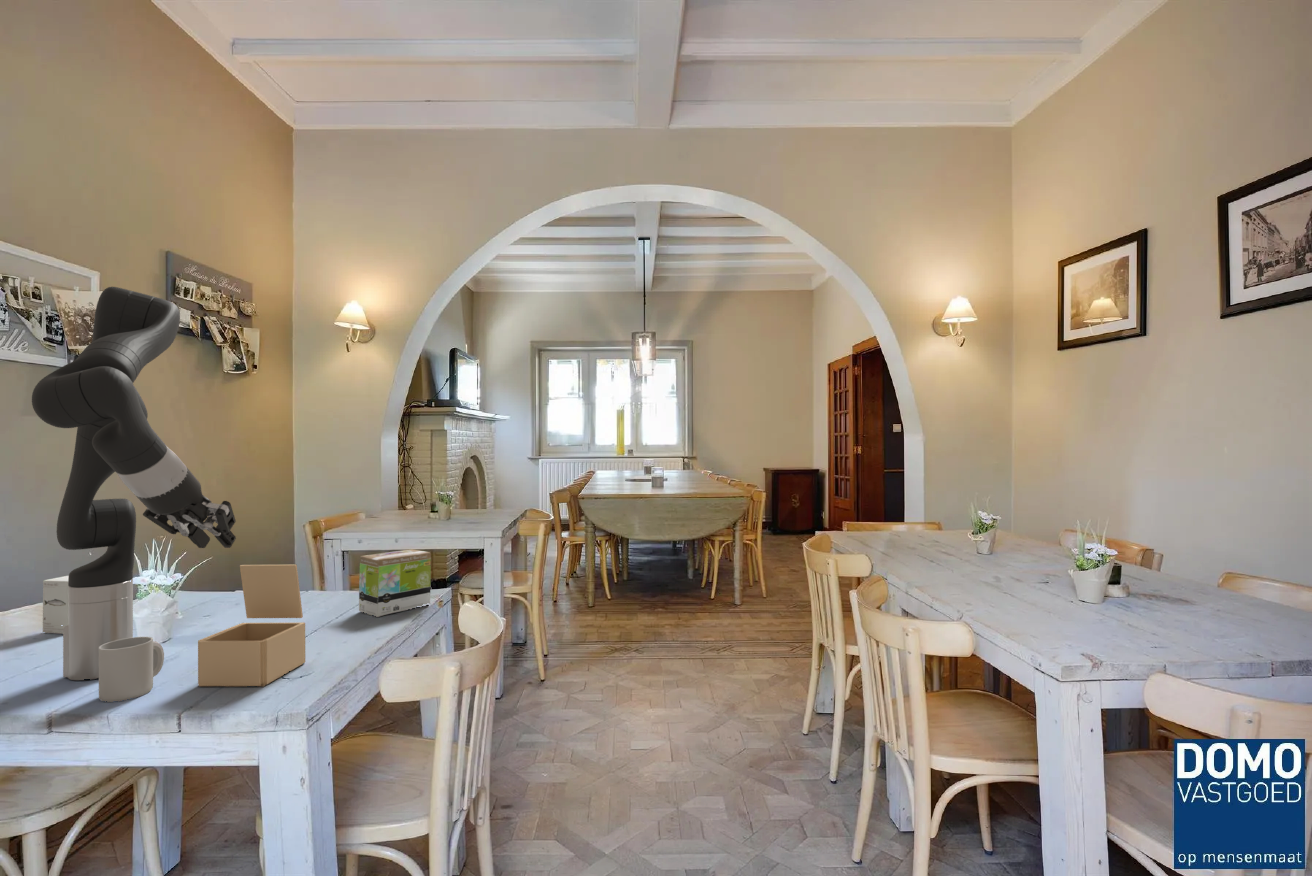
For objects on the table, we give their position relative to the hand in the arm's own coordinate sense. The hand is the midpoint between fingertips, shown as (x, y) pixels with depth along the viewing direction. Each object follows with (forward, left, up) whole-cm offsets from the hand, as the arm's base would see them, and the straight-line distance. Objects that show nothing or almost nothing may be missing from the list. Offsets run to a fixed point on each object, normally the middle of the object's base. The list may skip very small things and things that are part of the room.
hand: (217, 543), depth 107 cm
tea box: (+5, +56, -26) cm, 62 cm away
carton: (0, +9, -26) cm, 28 cm away
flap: (0, +15, -18) cm, 23 cm away
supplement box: (-66, +38, -26) cm, 81 cm away
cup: (-16, +1, -26) cm, 31 cm away
